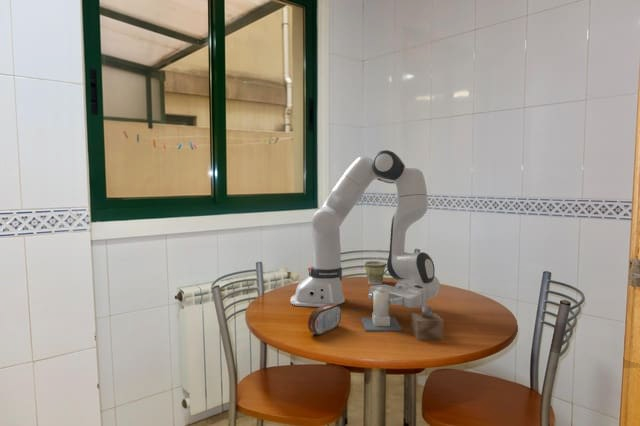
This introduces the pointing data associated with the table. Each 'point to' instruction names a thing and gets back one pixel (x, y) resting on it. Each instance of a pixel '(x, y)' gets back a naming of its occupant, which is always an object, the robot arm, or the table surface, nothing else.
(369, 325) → the mat
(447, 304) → the table surface
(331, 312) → the tin
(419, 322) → the post plinth
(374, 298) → the white tapered tower
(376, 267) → the ceramic cup
